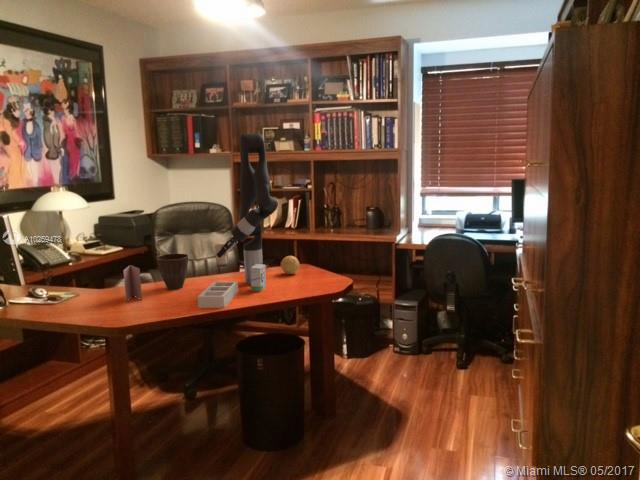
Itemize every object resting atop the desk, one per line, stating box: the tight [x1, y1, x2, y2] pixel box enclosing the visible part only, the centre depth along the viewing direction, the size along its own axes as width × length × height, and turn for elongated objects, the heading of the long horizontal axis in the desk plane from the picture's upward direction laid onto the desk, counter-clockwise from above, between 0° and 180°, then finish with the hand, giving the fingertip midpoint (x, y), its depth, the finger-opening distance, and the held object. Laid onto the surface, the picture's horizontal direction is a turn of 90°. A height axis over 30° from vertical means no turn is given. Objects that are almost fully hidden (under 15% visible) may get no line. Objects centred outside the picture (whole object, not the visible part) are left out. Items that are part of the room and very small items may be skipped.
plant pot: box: [156, 253, 189, 291], centre depth 266 cm, size 15×15×16 cm
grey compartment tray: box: [197, 281, 239, 309], centre depth 244 cm, size 26×11×5 cm, turn 175°
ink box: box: [250, 264, 267, 293], centre depth 259 cm, size 9×5×12 cm, turn 168°
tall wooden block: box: [214, 243, 230, 268], centre depth 249 cm, size 4×4×10 cm
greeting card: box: [122, 264, 143, 302], centre depth 248 cm, size 11×7×15 cm, turn 5°
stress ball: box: [280, 255, 300, 275], centre depth 289 cm, size 10×10×10 cm
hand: (219, 255), depth 249 cm, fingers closed on tall wooden block, 4 cm apart
